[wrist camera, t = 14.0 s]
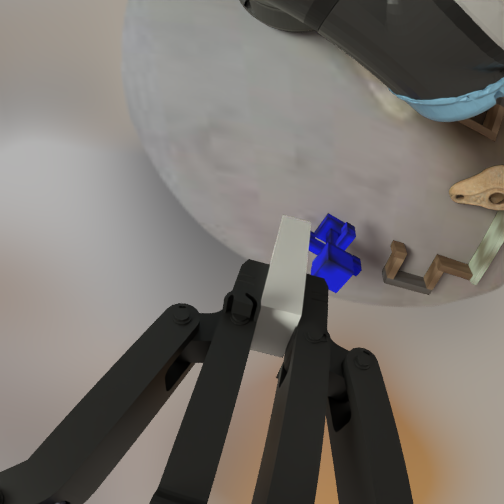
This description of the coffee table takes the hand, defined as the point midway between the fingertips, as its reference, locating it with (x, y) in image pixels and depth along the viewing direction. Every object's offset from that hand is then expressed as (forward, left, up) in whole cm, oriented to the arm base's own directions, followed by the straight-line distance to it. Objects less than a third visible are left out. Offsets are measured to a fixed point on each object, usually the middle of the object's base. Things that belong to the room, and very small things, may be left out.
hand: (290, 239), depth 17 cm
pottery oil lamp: (-1, +28, -30) cm, 41 cm away
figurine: (+15, +8, -30) cm, 34 cm away
